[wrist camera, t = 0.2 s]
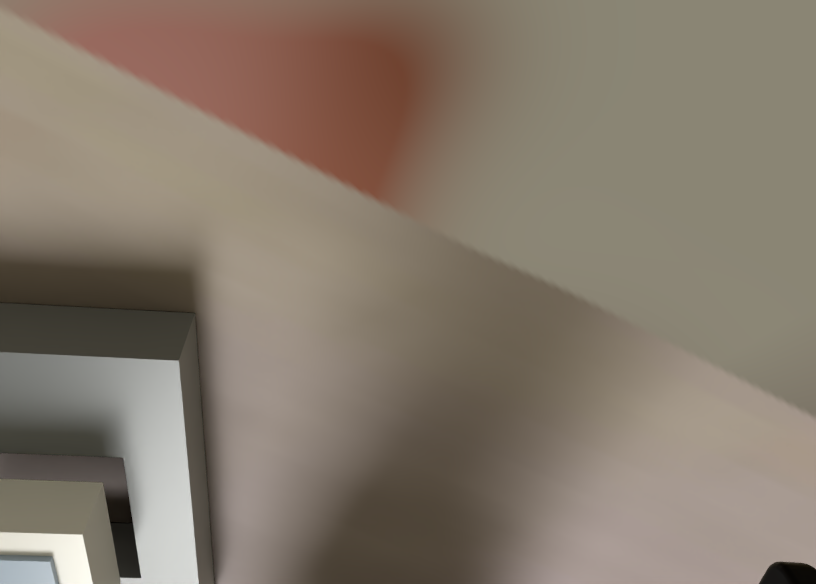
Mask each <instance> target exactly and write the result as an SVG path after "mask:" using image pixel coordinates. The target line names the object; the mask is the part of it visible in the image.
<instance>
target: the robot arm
mask: <svg viewBox="0 0 816 584" xmlns="http://www.w3.org/2000/svg"><path fill="white" fill-rule="evenodd" d="M759 584H816V569H815V568H813V567H812V566H810V565H808V564H804V563H794V562H775V563H773V564H772V565H770V566H769V568H768V569H767V571H766V573H765V574H764V576H763V578H762V579H761V581H760V583H759Z"/></svg>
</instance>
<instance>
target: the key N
mask: <svg viewBox="0 0 816 584" xmlns="http://www.w3.org/2000/svg"><path fill="white" fill-rule="evenodd" d="M0 584H121V582H120V576H119V570H118V565H117V559H116V553H115V548H114V542H113V537H112V531H111V525H110V520H109V514H108V508H107V503H106V497H105V491H104V486H103V483H102V482H74V481H46V480H17V479H0Z"/></svg>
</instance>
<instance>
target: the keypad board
mask: <svg viewBox="0 0 816 584" xmlns="http://www.w3.org/2000/svg"><path fill="white" fill-rule="evenodd" d="M0 453H16V454H42V455H68V456H94V457H121V458H123V461H124V468H125V474H126V481H127V487H128V494H129V501H130V507H131V514H132V520H133V524H126V523H110V525H111V531H112V537H113V542H114V548H115V553H116V559H117V565H118V570H119V576H120V582H121V584H214V571H213V557H212V543H211V529H210V515H209V501H208V487H207V473H206V459H205V446H204V432H203V418H202V404H201V390H200V376H199V362H198V348H197V334H196V320H195V313H181V312H162V311H143V310H125V309H106V308H87V307H68V306H50V305H31V304H12V303H0Z"/></svg>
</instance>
